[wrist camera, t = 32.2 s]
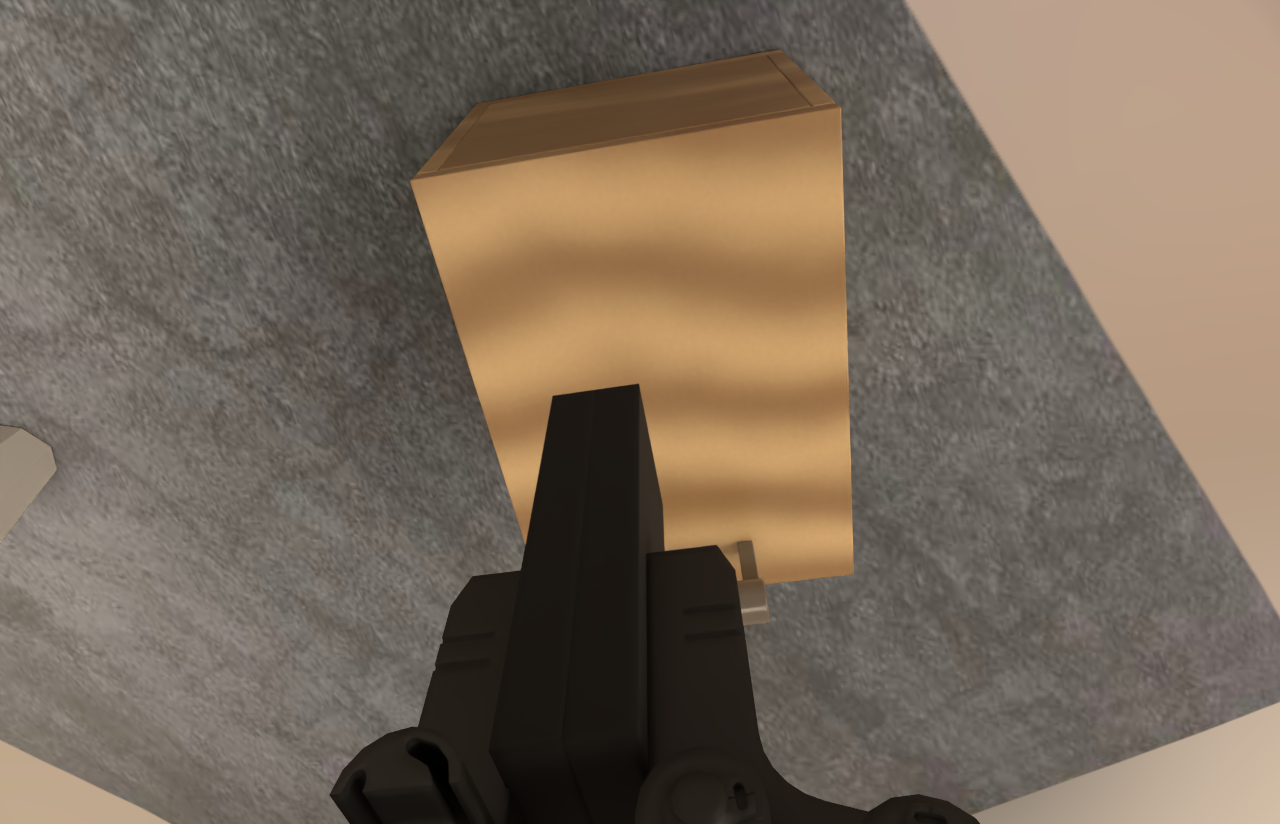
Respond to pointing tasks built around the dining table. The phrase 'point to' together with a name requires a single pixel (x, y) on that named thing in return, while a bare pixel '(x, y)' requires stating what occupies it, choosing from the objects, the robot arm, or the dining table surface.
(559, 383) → the lid
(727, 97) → the chest
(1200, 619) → the dining table surface
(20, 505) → the faceted bottle
